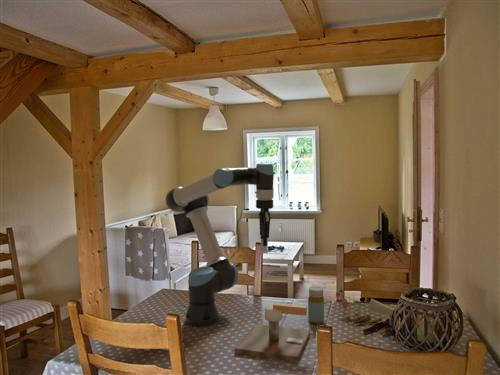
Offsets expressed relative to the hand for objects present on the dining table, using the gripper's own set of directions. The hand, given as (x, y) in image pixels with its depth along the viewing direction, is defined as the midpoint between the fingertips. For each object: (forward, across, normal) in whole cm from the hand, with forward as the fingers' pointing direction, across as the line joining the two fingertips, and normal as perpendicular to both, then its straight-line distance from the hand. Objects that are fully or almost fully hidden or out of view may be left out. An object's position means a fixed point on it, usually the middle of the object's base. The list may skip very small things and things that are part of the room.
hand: (264, 252), depth 177 cm
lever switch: (+21, +22, +4) cm, 31 cm away
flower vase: (+31, +5, +50) cm, 59 cm away
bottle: (+32, +3, +24) cm, 40 cm away
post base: (+32, +20, 0) cm, 38 cm away
